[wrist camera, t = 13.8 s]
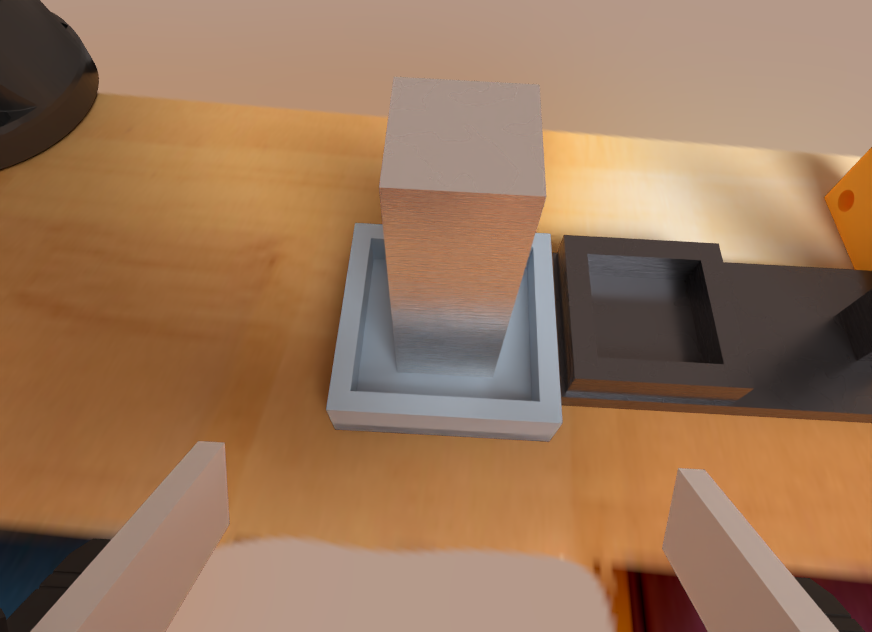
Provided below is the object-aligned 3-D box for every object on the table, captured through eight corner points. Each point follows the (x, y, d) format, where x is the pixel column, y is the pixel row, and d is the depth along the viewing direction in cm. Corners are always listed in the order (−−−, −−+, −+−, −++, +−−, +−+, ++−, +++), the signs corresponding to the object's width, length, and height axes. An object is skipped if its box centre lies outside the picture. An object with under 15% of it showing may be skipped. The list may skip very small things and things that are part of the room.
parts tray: (335, 429, 28) (325, 409, 25) (360, 253, 33) (355, 222, 31) (549, 441, 28) (562, 423, 25) (540, 264, 33) (550, 233, 31)
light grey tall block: (397, 372, 29) (379, 187, 16) (404, 290, 31) (393, 76, 19) (492, 377, 29) (546, 196, 16) (492, 295, 31) (539, 84, 19)
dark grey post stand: (556, 405, 29) (703, 173, 14) (548, 264, 33) (652, -27, 18) (916, 425, 29) (1454, 214, 14) (860, 281, 33) (1223, 3, 18)
